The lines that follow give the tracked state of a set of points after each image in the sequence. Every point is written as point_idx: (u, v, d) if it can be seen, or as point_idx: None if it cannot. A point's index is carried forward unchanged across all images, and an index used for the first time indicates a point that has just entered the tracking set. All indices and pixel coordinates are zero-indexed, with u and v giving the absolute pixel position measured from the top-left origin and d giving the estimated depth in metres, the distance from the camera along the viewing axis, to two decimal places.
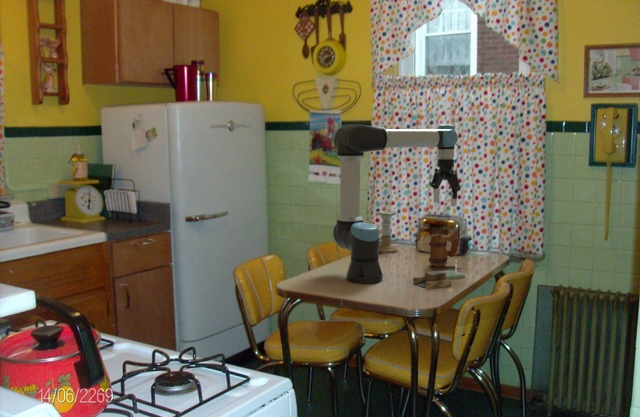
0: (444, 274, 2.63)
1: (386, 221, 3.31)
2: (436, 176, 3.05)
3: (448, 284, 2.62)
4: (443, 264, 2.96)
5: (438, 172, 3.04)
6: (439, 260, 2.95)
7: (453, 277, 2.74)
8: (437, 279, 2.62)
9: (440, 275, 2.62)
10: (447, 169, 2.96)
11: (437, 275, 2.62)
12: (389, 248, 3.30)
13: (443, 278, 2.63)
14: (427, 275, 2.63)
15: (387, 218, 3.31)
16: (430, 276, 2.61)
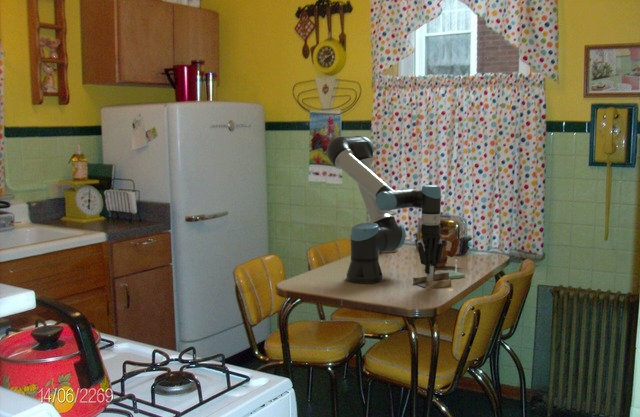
0: (447, 273, 2.64)
1: None
2: (437, 248, 2.63)
3: (448, 284, 2.62)
4: (443, 264, 2.96)
5: None
6: None
7: (453, 277, 2.74)
8: (440, 278, 2.62)
9: (443, 274, 2.63)
10: None
11: (440, 274, 2.62)
12: None
13: (446, 277, 2.64)
14: None
15: None
16: (433, 275, 2.62)
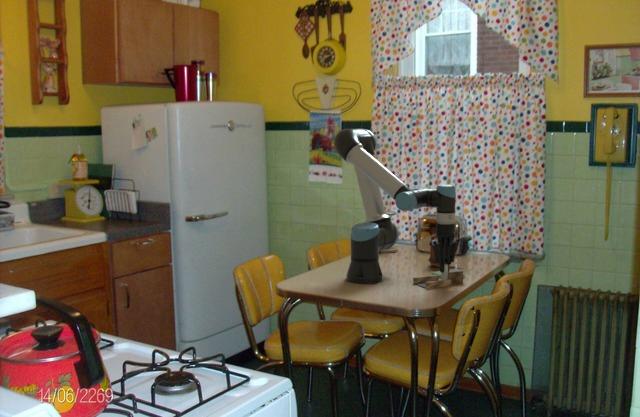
0: (461, 272, 2.67)
1: None
2: (452, 246, 2.66)
3: (448, 284, 2.62)
4: None
5: (452, 240, 2.66)
6: None
7: None
8: (455, 277, 2.65)
9: (457, 273, 2.66)
10: None
11: (454, 273, 2.65)
12: (389, 248, 3.30)
13: (460, 276, 2.67)
14: None
15: None
16: None
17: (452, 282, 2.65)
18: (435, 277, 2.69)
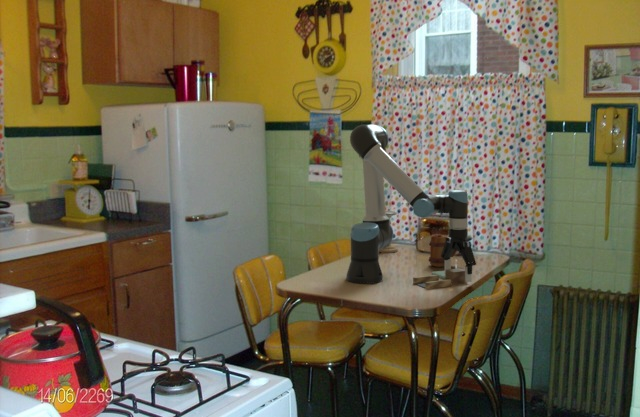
0: None
1: None
2: (447, 246, 2.73)
3: (448, 284, 2.62)
4: (443, 264, 2.96)
5: (449, 242, 2.71)
6: (439, 260, 2.95)
7: None
8: (458, 276, 2.66)
9: (461, 273, 2.67)
10: (460, 241, 2.63)
11: (458, 273, 2.66)
12: (389, 248, 3.30)
13: (464, 276, 2.67)
14: (448, 273, 2.68)
15: None
16: (451, 273, 2.66)
17: (456, 282, 2.66)
18: (435, 277, 2.69)
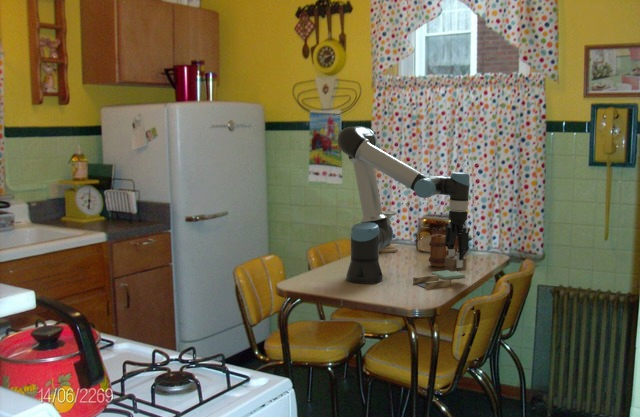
0: (464, 259, 2.67)
1: None
2: (449, 232, 2.71)
3: (448, 284, 2.62)
4: (443, 264, 2.96)
5: (450, 226, 2.70)
6: (439, 260, 2.95)
7: (453, 277, 2.74)
8: None
9: None
10: (460, 223, 2.62)
11: None
12: (389, 248, 3.30)
13: (463, 263, 2.67)
14: (447, 260, 2.67)
15: (387, 218, 3.31)
16: (450, 261, 2.65)
17: (455, 269, 2.66)
18: (435, 277, 2.69)
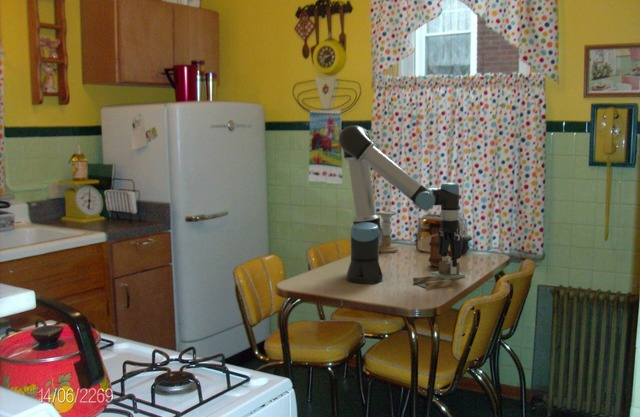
0: (457, 263, 2.77)
1: (386, 221, 3.31)
2: (442, 240, 2.82)
3: (448, 284, 2.62)
4: None
5: (442, 235, 2.81)
6: (439, 260, 2.95)
7: (453, 277, 2.74)
8: None
9: None
10: (452, 231, 2.73)
11: None
12: (389, 248, 3.30)
13: (456, 267, 2.77)
14: (441, 264, 2.78)
15: (387, 218, 3.31)
16: (444, 265, 2.76)
17: (449, 273, 2.76)
18: (435, 277, 2.69)
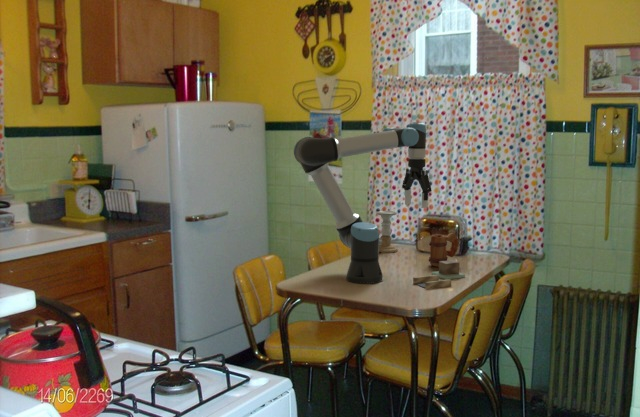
0: (457, 263, 2.77)
1: (386, 221, 3.31)
2: (407, 177, 2.93)
3: (448, 284, 2.62)
4: None
5: (409, 172, 2.91)
6: (439, 260, 2.95)
7: (453, 277, 2.74)
8: (451, 268, 2.76)
9: (454, 264, 2.77)
10: (418, 169, 2.83)
11: (451, 264, 2.76)
12: (389, 248, 3.30)
13: (456, 267, 2.77)
14: (441, 264, 2.78)
15: (387, 218, 3.31)
16: (444, 265, 2.76)
17: (449, 273, 2.76)
18: (435, 277, 2.69)
